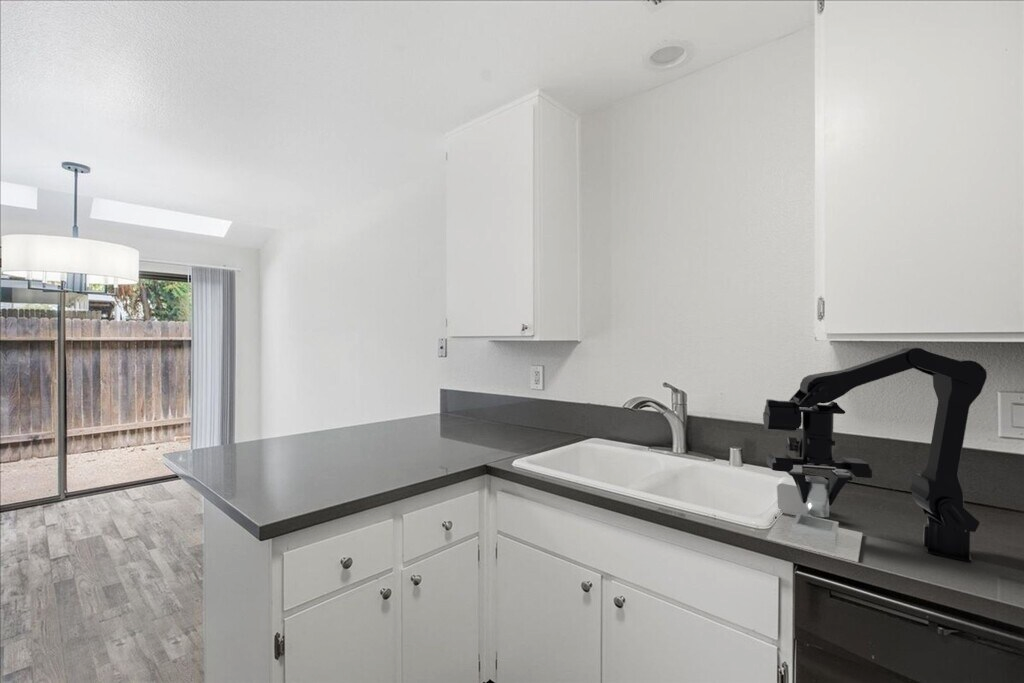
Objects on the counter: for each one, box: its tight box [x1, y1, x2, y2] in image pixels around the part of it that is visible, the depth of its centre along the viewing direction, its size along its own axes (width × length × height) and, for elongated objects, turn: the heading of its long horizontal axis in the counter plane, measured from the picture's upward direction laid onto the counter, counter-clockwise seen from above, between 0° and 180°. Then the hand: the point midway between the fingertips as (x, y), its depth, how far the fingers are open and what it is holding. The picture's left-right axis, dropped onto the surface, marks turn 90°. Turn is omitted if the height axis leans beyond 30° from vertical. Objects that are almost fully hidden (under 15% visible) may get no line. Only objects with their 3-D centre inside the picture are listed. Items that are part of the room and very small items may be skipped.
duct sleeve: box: [804, 475, 830, 518], centre depth 103 cm, size 5×5×8 cm
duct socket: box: [766, 513, 863, 563], centre depth 104 cm, size 16×16×3 cm
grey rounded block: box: [776, 476, 816, 517], centre depth 119 cm, size 8×10×10 cm
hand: (816, 503), depth 103 cm, fingers closed on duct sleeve, 5 cm apart
